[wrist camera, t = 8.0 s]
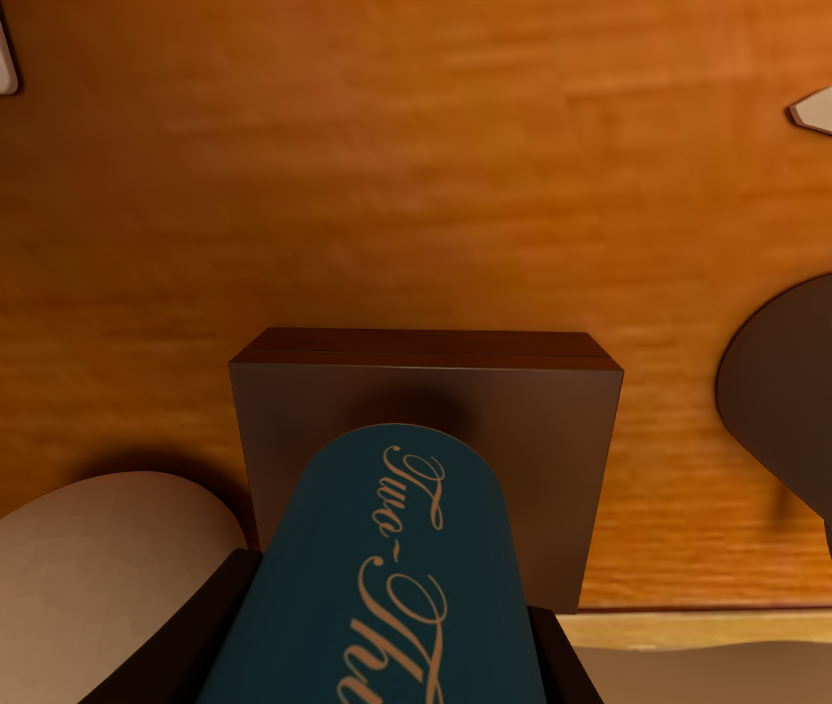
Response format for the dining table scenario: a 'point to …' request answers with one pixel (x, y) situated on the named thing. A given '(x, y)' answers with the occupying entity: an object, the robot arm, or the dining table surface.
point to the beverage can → (385, 585)
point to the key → (815, 111)
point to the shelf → (444, 423)
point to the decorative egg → (100, 577)
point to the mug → (786, 392)
